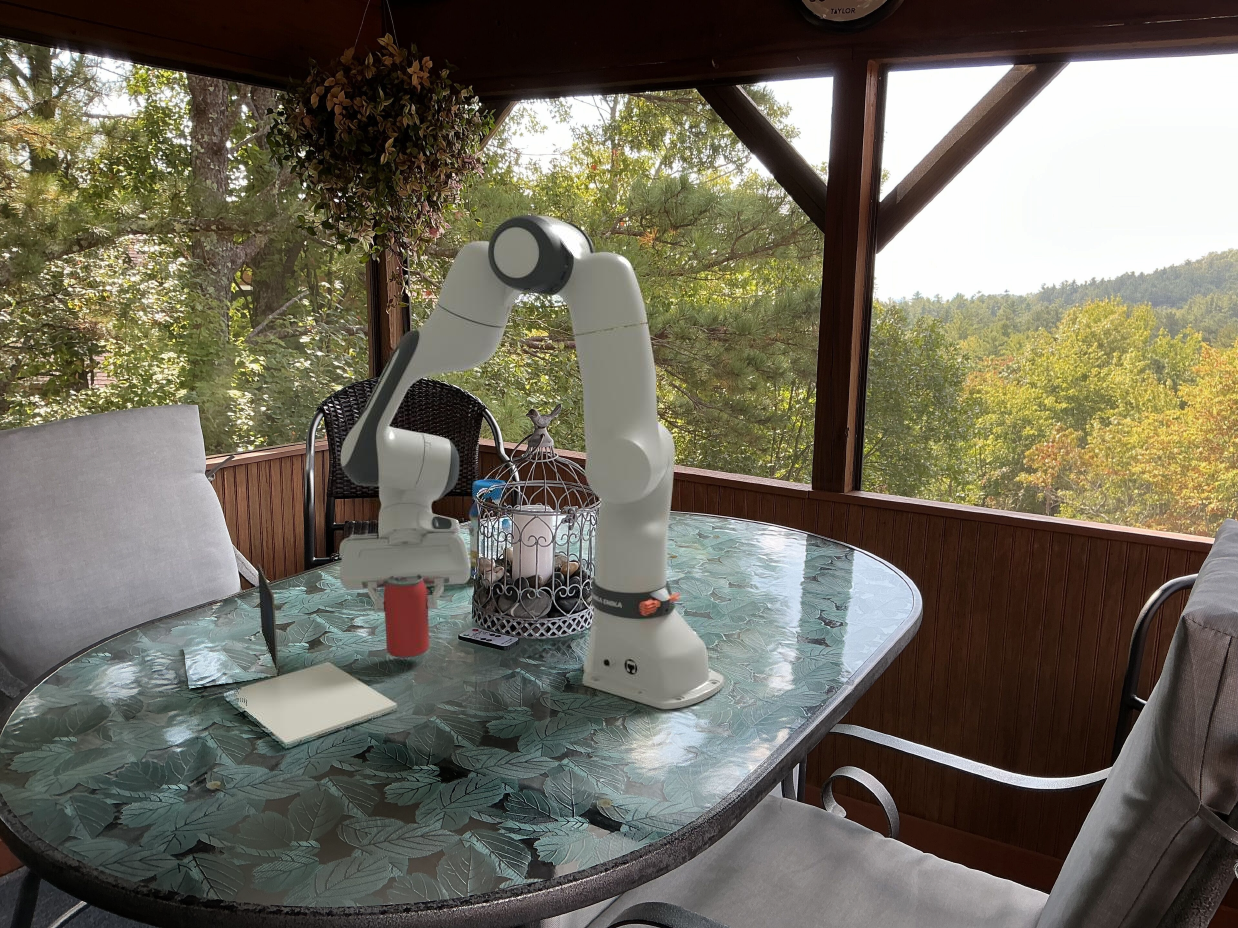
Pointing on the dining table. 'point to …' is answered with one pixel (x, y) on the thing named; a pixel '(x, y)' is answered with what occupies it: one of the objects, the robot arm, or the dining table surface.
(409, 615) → the beer can
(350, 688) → the ceramic tile
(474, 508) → the beverage bottle
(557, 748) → the dining table surface
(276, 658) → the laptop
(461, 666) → the dining table surface
